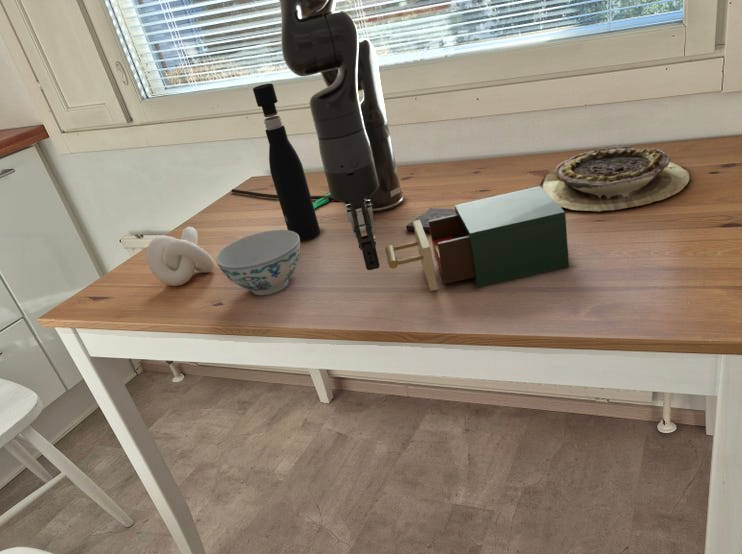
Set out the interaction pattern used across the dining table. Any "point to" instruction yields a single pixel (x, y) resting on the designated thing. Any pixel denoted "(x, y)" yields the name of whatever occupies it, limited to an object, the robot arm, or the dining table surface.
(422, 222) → the chocolate bar
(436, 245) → the red yellow striped block
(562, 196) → the pie
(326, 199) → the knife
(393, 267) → the drawer
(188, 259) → the white knot sculpture
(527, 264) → the cabinet
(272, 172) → the black water bottle
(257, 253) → the chinaware
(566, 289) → the dining table surface
